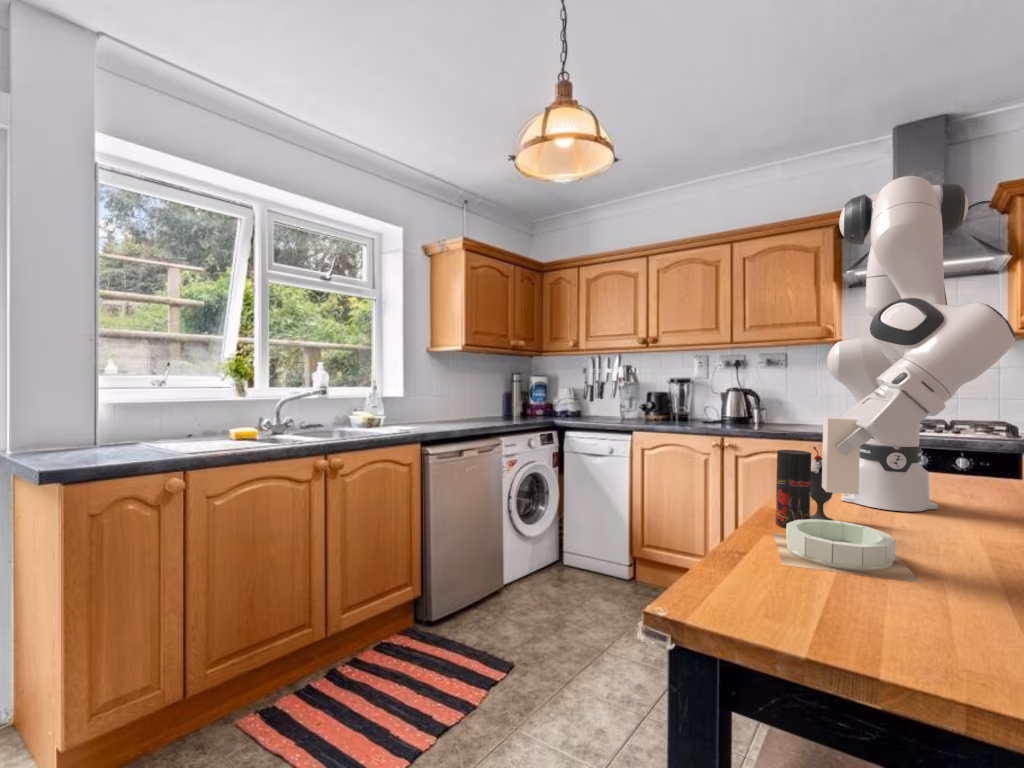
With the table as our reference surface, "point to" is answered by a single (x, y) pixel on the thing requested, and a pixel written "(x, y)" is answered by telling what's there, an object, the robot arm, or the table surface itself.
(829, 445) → the tall white box
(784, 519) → the deodorant
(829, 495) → the sundae
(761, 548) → the table surface
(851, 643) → the table surface
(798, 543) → the bowl
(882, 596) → the table surface
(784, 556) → the cork mat
